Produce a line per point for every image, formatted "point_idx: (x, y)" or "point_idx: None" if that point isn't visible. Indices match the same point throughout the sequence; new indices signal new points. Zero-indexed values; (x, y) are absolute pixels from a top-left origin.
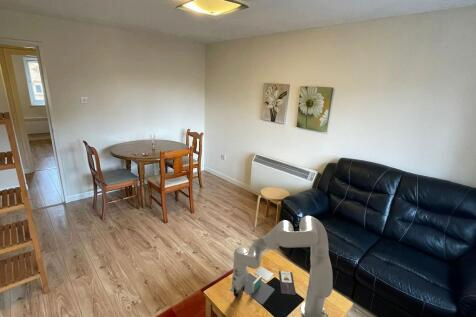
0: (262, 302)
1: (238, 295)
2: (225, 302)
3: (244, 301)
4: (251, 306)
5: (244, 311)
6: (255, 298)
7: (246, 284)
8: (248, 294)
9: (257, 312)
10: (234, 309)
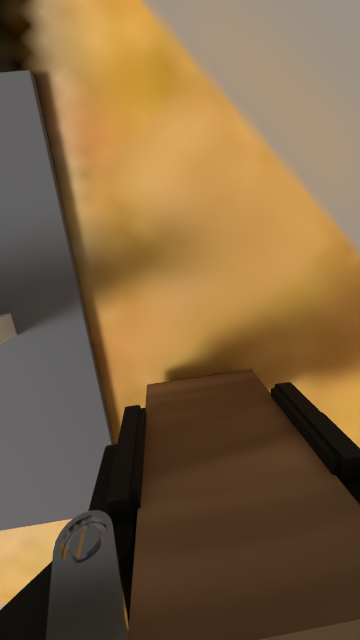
0: (1, 96)
1: (255, 402)
2: (347, 423)
3: (193, 303)
4: (178, 187)
5: (296, 201)
6: (47, 230)
7: (5, 456)
8: (85, 339)
9: (183, 48)
10: (352, 304)
